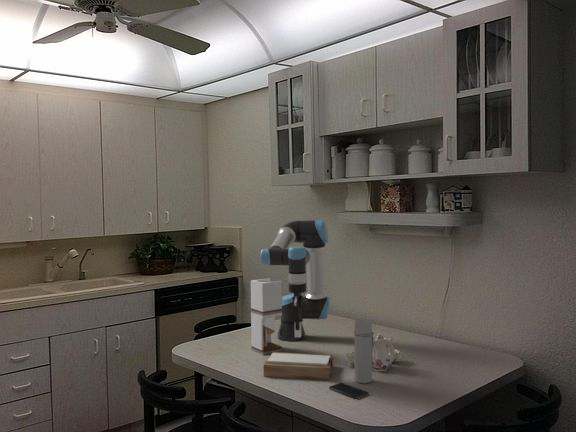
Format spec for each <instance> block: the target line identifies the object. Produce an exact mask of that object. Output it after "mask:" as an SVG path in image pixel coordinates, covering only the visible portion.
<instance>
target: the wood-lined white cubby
mask: <svg viewBox="0 0 576 432" xmlns="http://www.w3.org/2000/svg"><path fill="white" fill-rule="evenodd" d="M282 283H283V281H282V280H277V281H276V280H274V281H271V278H263V279H262V278H261V279H252V280H250V325H251V326H250V329H251V330H250V332H251V333H250V336H251V338H250V340H251V348H250V349H251V351H252V352H255V353H257V354H260V355H262V356H266V355H269V354H270V355H271V354H272V352H279V353H280V352H282V351H283V346H282V345H279V344H277V343H274V342H272V334H274V333H275V332H276V324H275V322H276V321H275V320H276V319H275V318H276V317H281V315H282V297H283V292H282V291H283V289H282Z"/></svg>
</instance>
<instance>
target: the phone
mask: <svg viewBox="0 0 576 432" xmlns="http://www.w3.org/2000/svg"><path fill="white" fill-rule="evenodd" d="M328 389H329V390H330V391H333V392H335V393H337V394H340V395H342V396H345V397H347V398H350V399H352V398H353V400H355V399H358V400H360V399H363V398H365V397H367V395H368V396H370V395H369V394H370V393H369V391H366V390H363V389H361V388H357V387H356V386H352V385H350V384H347V383H344V382H339V383H337V384H333V385H331V386H329V388H328ZM364 396H365V397H364ZM362 397H363V398H362ZM359 398H360V399H359Z"/></svg>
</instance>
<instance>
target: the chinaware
mask: <svg viewBox="0 0 576 432" xmlns="http://www.w3.org/2000/svg"><path fill="white" fill-rule="evenodd" d="M393 339H394V337H393V336H391V337H389V339H388V338H386V337H384V336H383V335H382V333H381V332H378V334H377V335H376V336H373V341H374V349H373V350H372V367H373V368H374V365H375V359H376V366H375V368H374V369H373V368H372V371H373V370H377V371H385V370H388V369H389V370H390V368H391V367H392V365H393V363H392V362H393V361H394V362H398V361H401V360H403V359H404V355H403V354H402V353H401V350H398V349H397V348H394V346H393V342H392V341H393ZM387 340H388V348H387ZM374 350H375V359H374ZM399 355H401V356H402V358H401V359H399V358H398V357H399ZM346 361H348V363H346ZM344 363H345V365H346V366H350V367H353V366H354V367H353V368H355V351H352V352H347V353H346V358H345V360H344ZM389 370H388V371H389ZM377 371H376V372H377ZM385 372H386V371H385Z"/></svg>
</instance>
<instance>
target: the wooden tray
mask: <svg viewBox="0 0 576 432" xmlns="http://www.w3.org/2000/svg"><path fill="white" fill-rule="evenodd" d="M272 353H280V351H279V352H272ZM272 353H270V356H271V355H272ZM283 353H284V354H301V353H300V352H299V353H298V352H296V353H295V352H283ZM304 354H305V355H322V354H321V353H319V354H316V353H315V354H314V353H304ZM325 355H326V356H330V359H329V362H328V365H327V366H323V365H304V364H285V363H267V361H268V359H266V360H265V362H264V363H263V377H268V378H269V377H270V378H273V377H274V378H287V379H289V378H290V379H304V380H322V381H330V378H331V374H332V373H333V368H334V355H333V354H325Z"/></svg>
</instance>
